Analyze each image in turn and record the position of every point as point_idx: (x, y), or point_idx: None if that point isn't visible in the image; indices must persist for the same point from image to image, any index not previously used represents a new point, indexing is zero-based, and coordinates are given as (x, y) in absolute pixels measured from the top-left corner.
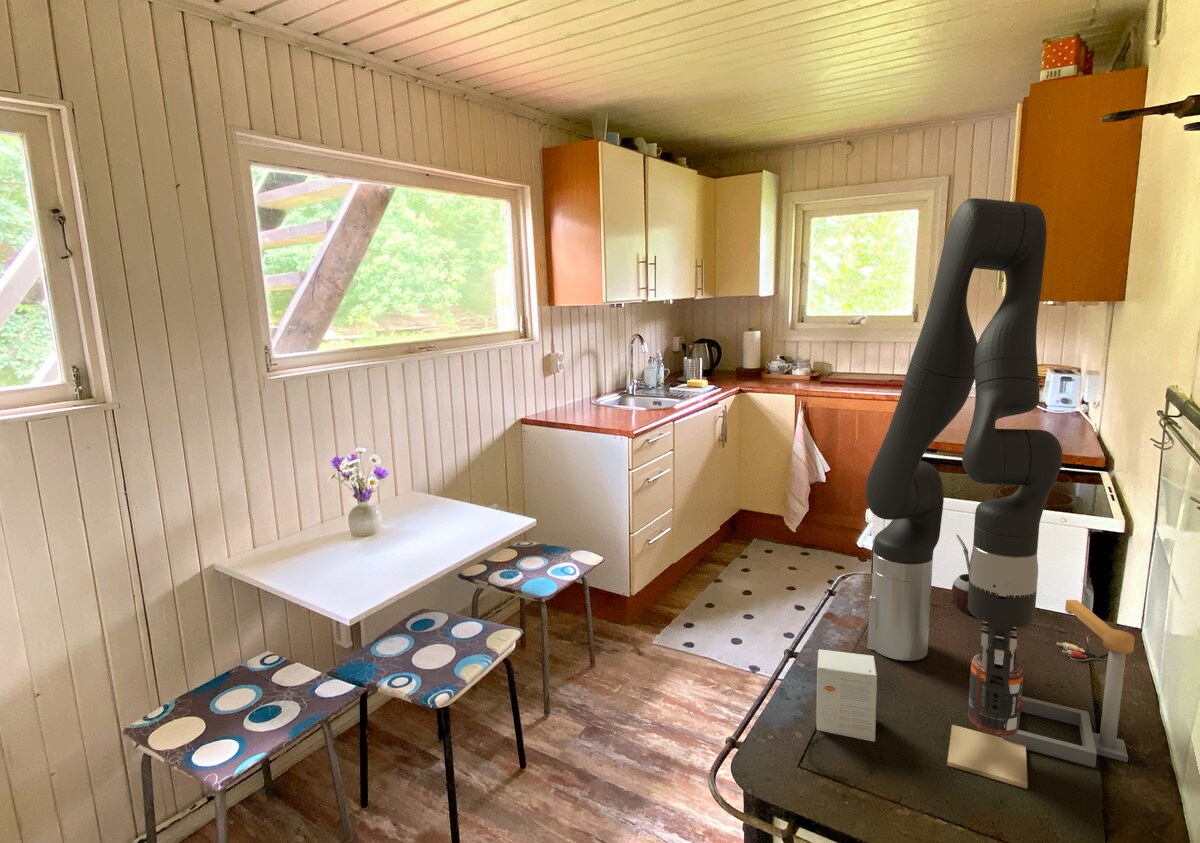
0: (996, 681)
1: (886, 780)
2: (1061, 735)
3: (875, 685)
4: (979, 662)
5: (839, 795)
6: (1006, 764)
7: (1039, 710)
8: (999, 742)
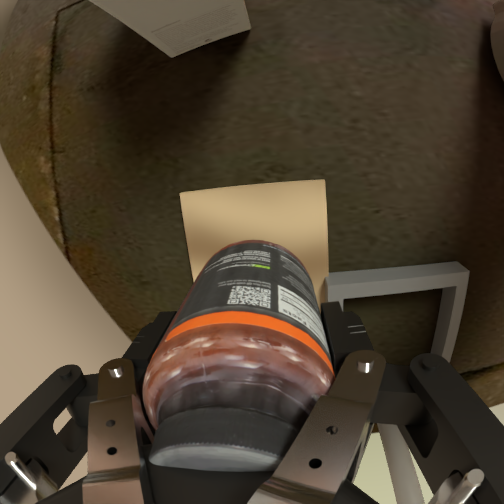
0: (69, 410)
1: (84, 117)
2: (393, 349)
3: (103, 8)
4: (172, 376)
5: (30, 84)
6: None
7: (442, 322)
8: (308, 273)
